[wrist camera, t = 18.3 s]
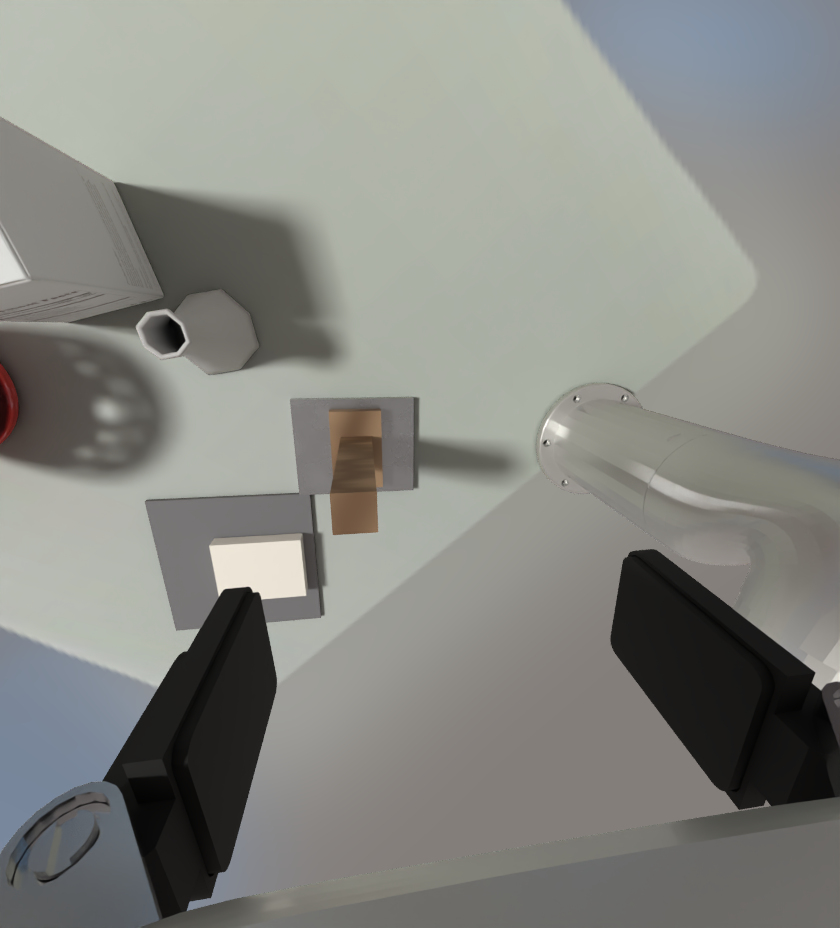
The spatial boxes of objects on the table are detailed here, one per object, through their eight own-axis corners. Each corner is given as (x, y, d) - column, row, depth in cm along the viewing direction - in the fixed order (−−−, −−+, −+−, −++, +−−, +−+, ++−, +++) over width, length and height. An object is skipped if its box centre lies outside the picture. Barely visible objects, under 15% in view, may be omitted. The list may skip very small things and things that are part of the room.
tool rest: (412, 397, 40) (413, 398, 39) (412, 487, 43) (413, 489, 42) (291, 398, 38) (290, 399, 37) (300, 492, 41) (299, 495, 41)
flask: (274, 350, 36) (243, 357, 27) (208, 388, 37) (155, 408, 27) (225, 274, 34) (172, 252, 24) (154, 315, 34) (75, 309, 25)
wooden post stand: (380, 408, 39) (391, 454, 25) (382, 482, 42) (393, 562, 27) (329, 409, 38) (310, 457, 24) (334, 484, 41) (320, 568, 27)
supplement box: (-1, 205, 30) (-314, 98, 16) (115, 179, 31) (-92, 53, 17) (63, 325, 33) (-151, 323, 19) (168, 300, 34) (31, 279, 20)
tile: (214, 537, 41) (302, 532, 42) (225, 592, 43) (308, 586, 45) (209, 545, 40) (300, 540, 41) (220, 602, 42) (306, 595, 43)
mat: (310, 492, 41) (309, 493, 41) (321, 615, 47) (320, 617, 46) (146, 499, 39) (144, 501, 39) (177, 627, 44) (176, 630, 44)
